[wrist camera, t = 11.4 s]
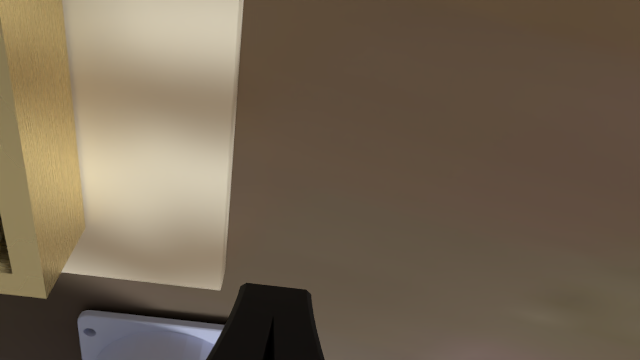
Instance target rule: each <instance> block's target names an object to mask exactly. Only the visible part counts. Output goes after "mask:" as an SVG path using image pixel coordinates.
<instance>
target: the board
mask: <svg viewBox="0 0 640 360" xmlns="http://www.w3.org/2000/svg"><path fill="white" fill-rule="evenodd" d="M62 5H63V14H64V24H65V34H66V43H67V53H68V63H69V72H70V82H71V92H72V101H73V111H74V121H75V130H76V140H77V150H78V159H79V169H80V179H81V188H82V198H83V208H84V217H85V227H86V228H85V230H84V231H83V233H82V235H81V237H80V239H79V241H78V242H77V244H76V246H75V248H74V250H73V252H72V253H71V255H70V257H69V259H68V261H67V263H66V264H65V266H64V268H63V270H62V272H64V273H73V274H82V275H91V276H99V277H108V278H117V279H125V280H134V281H143V282H152V283H160V284H169V285H178V286H186V287H195V288H204V289H212V290H221V285H222V281H223V276H224V272H225V263H226V249H227V234H228V219H229V205H230V190H231V175H232V161H233V146H234V132H235V117H236V102H237V88H238V73H239V59H240V44H241V29H242V15H243V0H62Z"/></svg>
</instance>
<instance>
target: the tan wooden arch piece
mask: <svg viewBox="0 0 640 360" xmlns="http://www.w3.org/2000/svg"><path fill="white" fill-rule="evenodd" d="M0 214H1V219H2V224H3V229H4V234H5V235H4V236H3V238H2V239H1V241H0V294H9V295H18V296H26V297H35V298H44V299H47V297H48V295H49V294H50V292H51V290H52V288H53V286H54V284H55V283H56V281H57V279H58V277H59V275H60V273H61V272H62V270H63V268H64V266H65V264H66V263H67V261H68V259H69V257H70V255H71V253H72V252H73V250H74V248H75V246H76V244H77V242H78V241H79V239H80V237H81V235H82V233H83V231H84V230H85V228H86V227H85V217H84V208H83V198H82V188H81V179H80V169H79V159H78V150H77V140H76V130H75V121H74V111H73V101H72V92H71V82H70V72H69V63H68V53H67V43H66V34H65V24H64V14H63V5H62V0H0Z"/></svg>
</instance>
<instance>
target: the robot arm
mask: <svg viewBox="0 0 640 360" xmlns="http://www.w3.org/2000/svg"><path fill="white" fill-rule="evenodd" d="M77 324H78V332H79V340H80V347H81V355H82V360H325V359H324V356H323V352H322V349H321V345H320V341H319V337H318V333H317V329H316V325H315V320H314V314H313V308H312V300H311V294H310V293H309V292H308V291H307V290H303V289H295V288H286V287H278V286H269V285H260V284H252V283H246V284H244V285H242V286H240V290H239V293H238V296H237V299H236V301H235V304H234V307H233V309H232V311H231V313H230V316H229V318H228V320H227V322H226V324H225V325H221V324H212V323H203V322H194V321H185V320H176V319H167V318H158V317H149V316H141V315H132V314H123V313H114V312H105V311H96V310H85V311H83V312H82V313H81V314H80V316H79V318H78V321H77ZM90 328H91V329H90Z"/></svg>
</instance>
